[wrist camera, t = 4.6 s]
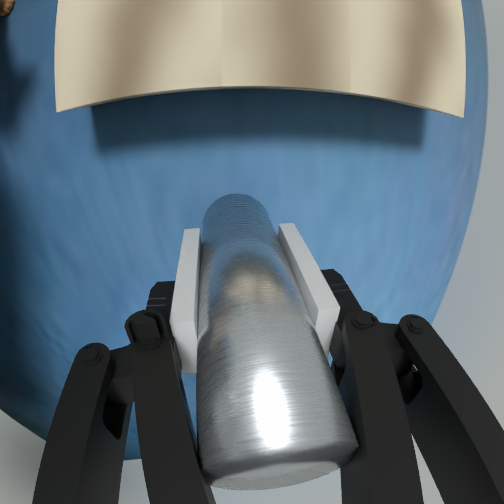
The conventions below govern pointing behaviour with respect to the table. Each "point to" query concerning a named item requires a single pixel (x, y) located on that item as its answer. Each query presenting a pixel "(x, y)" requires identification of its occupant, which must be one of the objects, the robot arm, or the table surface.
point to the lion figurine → (6, 6)
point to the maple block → (261, 49)
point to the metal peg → (260, 362)
